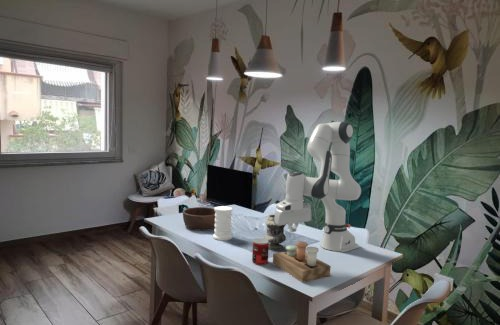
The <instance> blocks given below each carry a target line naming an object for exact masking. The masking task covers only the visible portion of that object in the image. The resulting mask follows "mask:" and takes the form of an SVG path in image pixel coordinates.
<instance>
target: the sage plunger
mask: <svg viewBox="0 0 500 325" xmlns="http://www.w3.org/2000/svg"><path fill="white" fill-rule="evenodd" d="M285 250H286V251H287V255H288V256H295V251H296V250H297V246H296V245H286V246H285Z"/></svg>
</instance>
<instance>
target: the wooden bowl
mask: <svg viewBox="0 0 500 325" xmlns="http://www.w3.org/2000/svg"><path fill="white" fill-rule="evenodd" d="M214 208H215V207H208V206H207V207H205V206H197V207H196V206H195V207H189V208H185V209H184V210H182V217H183V223H184V225H185V227H186V228H188V229H190V230H194V231H209V230H213V229H215V226H214V225H215V211H214Z"/></svg>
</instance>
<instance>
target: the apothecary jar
mask: <svg viewBox="0 0 500 325" xmlns="http://www.w3.org/2000/svg"><path fill="white" fill-rule="evenodd" d="M274 219H275V214H269V215H268V217H267V219H266V220H265V223H264V224H265V225H266V233H265V234H264V238H263V239H266V240H268V241H269V250H271V249H272V250H273V251H280V250H283V249H284V245H282V243H284V242H285V241H286V239H287V237H286V235H285V227H286V226H287V224H286V225H277V224H276V223H275V221H274ZM272 250H271V251H272Z"/></svg>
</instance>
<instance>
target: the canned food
mask: <svg viewBox="0 0 500 325" xmlns="http://www.w3.org/2000/svg"><path fill="white" fill-rule="evenodd" d="M269 244H270V243H269V241H268V240H266V239H265V238H254V239H253V241H252V254H251V256H252V257H251V258H252V259H251V260H252V263H253V264H255V265H258V266H264V265H267V264H268V262H269V250H270V249H269Z"/></svg>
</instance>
